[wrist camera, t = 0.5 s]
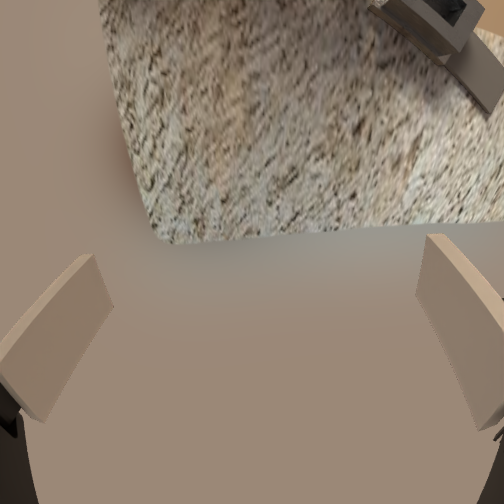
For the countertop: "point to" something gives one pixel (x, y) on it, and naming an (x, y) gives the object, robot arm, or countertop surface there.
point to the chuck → (431, 23)
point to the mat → (478, 72)
